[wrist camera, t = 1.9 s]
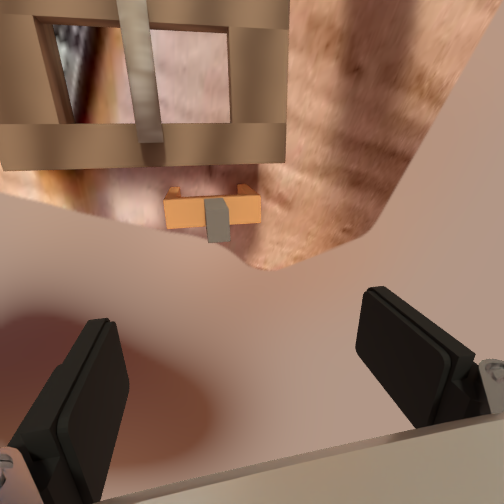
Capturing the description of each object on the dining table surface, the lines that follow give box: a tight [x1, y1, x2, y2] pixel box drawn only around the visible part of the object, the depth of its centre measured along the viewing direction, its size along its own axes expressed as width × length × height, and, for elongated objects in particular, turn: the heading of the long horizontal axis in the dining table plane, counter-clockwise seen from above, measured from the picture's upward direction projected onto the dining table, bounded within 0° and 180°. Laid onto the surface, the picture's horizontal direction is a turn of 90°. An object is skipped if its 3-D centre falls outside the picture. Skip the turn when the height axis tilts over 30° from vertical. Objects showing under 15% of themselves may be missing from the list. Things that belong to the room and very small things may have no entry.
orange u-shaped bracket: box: [163, 184, 261, 243], centre depth 31 cm, size 10×3×15 cm, turn 91°
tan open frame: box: [0, 0, 290, 171], centre depth 27 cm, size 24×14×14 cm, turn 91°
